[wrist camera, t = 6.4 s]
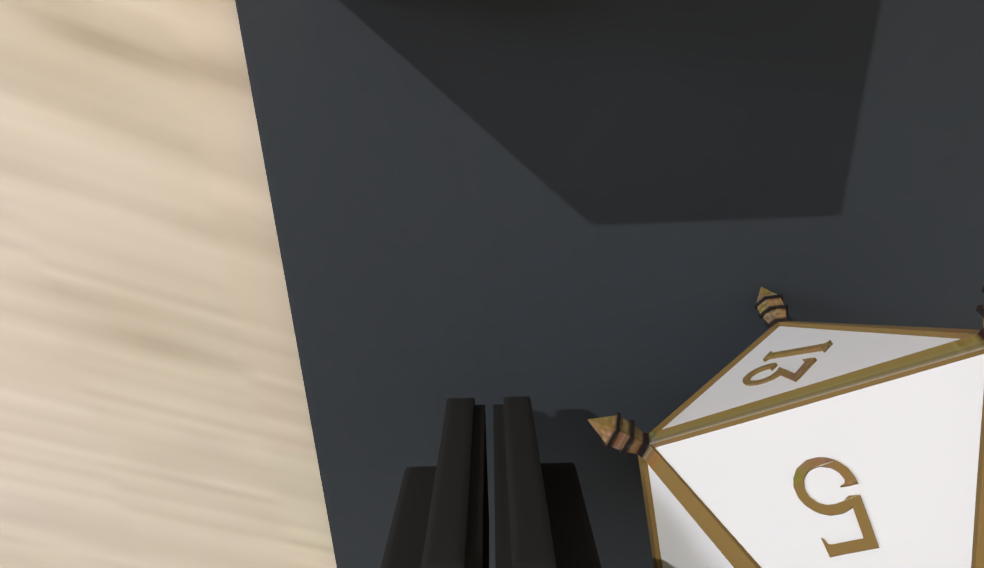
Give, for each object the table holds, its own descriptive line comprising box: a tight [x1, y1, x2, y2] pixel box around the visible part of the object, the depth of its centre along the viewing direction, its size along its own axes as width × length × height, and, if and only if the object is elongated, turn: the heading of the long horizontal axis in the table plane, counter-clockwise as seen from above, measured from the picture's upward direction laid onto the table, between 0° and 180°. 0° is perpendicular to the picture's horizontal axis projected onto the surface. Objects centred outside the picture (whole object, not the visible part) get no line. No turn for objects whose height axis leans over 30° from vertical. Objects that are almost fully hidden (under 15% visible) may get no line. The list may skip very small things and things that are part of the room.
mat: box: [235, 0, 984, 568], centre depth 9 cm, size 30×18×1 cm, turn 2°
